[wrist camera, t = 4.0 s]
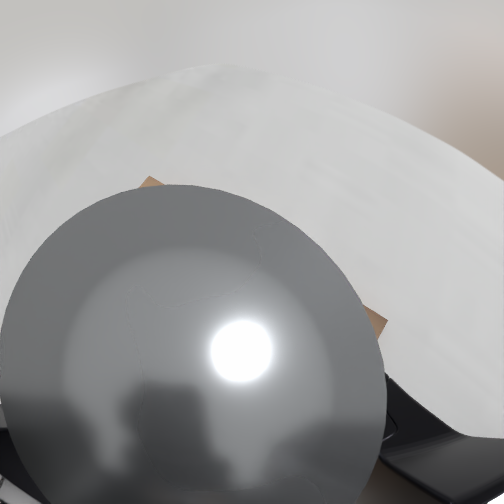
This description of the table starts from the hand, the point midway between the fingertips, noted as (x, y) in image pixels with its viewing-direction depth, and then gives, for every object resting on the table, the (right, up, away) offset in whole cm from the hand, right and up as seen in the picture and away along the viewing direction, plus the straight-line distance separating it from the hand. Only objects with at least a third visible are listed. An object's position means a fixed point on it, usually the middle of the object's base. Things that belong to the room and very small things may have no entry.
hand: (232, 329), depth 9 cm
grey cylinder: (+1, -4, +6) cm, 7 cm away
